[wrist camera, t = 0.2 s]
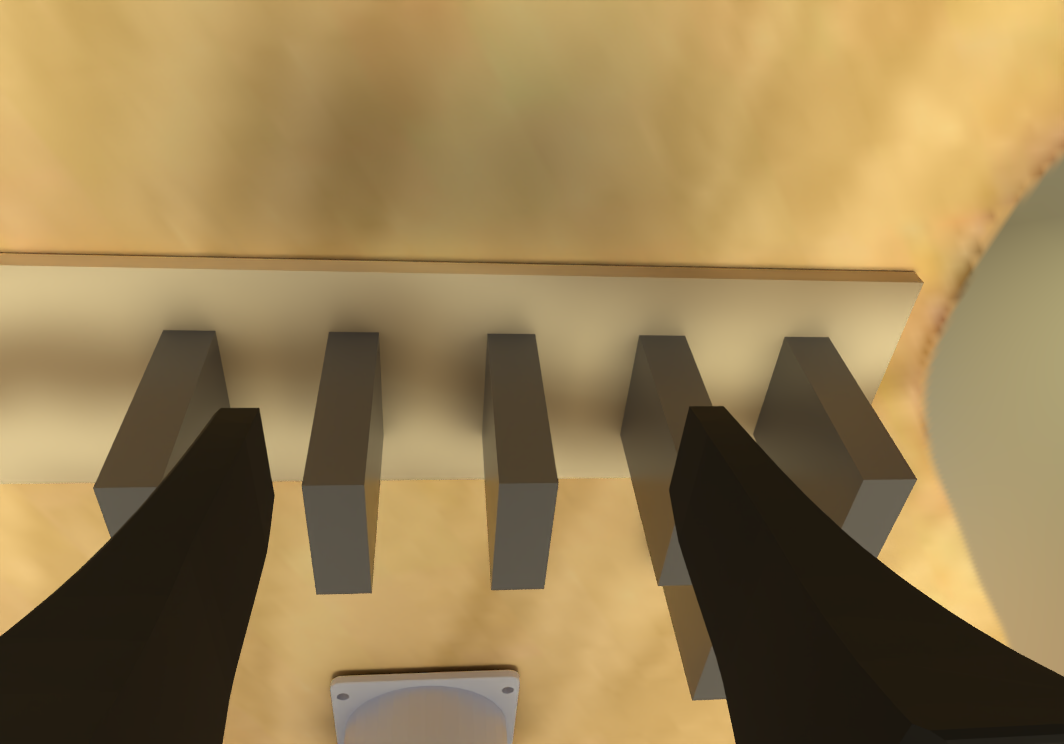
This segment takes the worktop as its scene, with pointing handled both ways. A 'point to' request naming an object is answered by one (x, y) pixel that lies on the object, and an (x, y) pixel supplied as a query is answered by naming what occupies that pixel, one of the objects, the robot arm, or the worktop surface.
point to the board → (406, 347)
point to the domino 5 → (694, 644)
